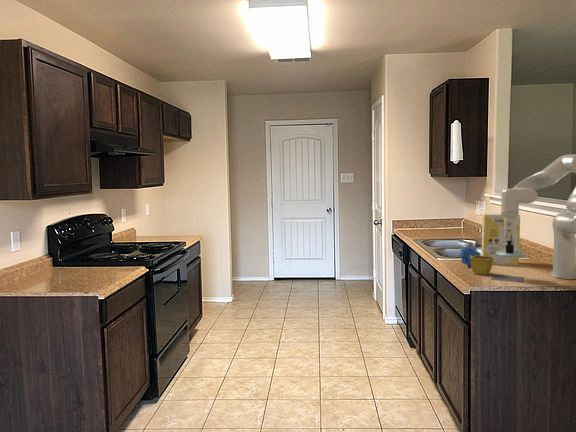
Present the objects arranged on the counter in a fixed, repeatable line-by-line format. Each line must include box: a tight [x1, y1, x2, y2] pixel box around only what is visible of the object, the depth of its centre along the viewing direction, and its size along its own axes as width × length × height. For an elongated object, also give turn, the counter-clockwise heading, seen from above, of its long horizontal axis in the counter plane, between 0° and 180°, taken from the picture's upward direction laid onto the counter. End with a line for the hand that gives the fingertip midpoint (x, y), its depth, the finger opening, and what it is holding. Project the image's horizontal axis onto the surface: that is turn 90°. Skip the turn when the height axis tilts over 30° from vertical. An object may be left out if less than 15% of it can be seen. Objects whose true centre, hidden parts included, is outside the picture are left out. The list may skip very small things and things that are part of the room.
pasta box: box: [480, 212, 521, 266], centre depth 270 cm, size 18×10×28 cm, turn 74°
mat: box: [490, 274, 525, 284], centre depth 231 cm, size 14×12×1 cm
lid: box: [496, 242, 525, 258], centre depth 230 cm, size 12×12×6 cm
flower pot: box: [470, 255, 493, 276], centre depth 242 cm, size 9×9×9 cm
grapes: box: [458, 244, 481, 268], centre depth 259 cm, size 12×7×12 cm, turn 85°
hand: (509, 251), depth 230 cm, fingers closed on lid, 3 cm apart
